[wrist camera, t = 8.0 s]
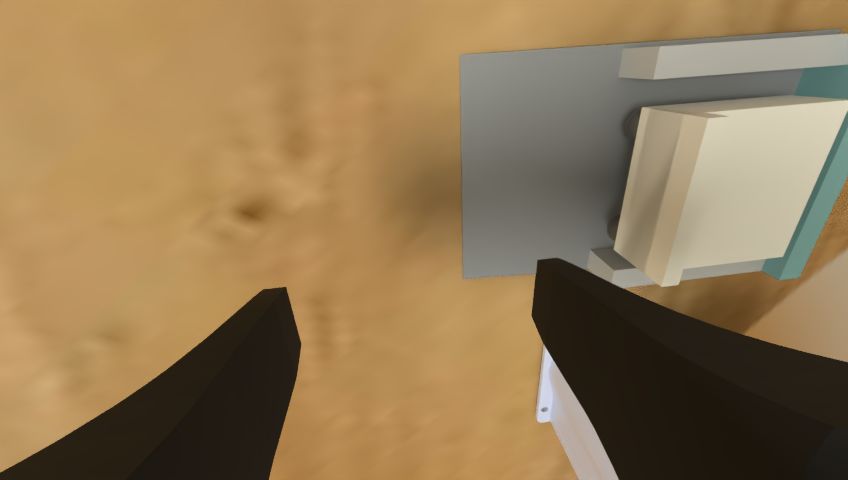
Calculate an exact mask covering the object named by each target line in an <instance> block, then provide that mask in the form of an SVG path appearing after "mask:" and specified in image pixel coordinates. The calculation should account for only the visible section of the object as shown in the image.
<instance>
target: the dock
mask: <svg viewBox="0 0 848 480" xmlns="http://www.w3.org/2000/svg"><path fill="white" fill-rule="evenodd" d="M840 32H841V29H831V30H816V31H802V32H787V33H773V34H758V35H743V36H729V37H714V38H700V39H685V40H670V41H656V42H641V43H626V44H612V45H597V46H583V47H568V48H553V49H539V50H524V51H510V52H495V53H480V54H466V55H460V104H461V171H462V238H463V279H472V278H486V277H499V276H513V275H526V274H536V269H537V260H540V259H549V258H560V259H562V260H565V261H567V262H570V263H572V264H574V265H576V266H578V267H580V268H582V269H584V270H590V271H591V272H592V273H593V274H594V275H596V276H598V277H600V278H603V279H605V280H607V281H609V282H611V283H613V284H615V285H617V286H619V287H621V288H628V287H636V286H644V285H652V284H657V283H655V282H654V281H653V280H652V279H650V278H649V277H648V276H646V275H645V274H644V273H643V272H641V271H640V270H639V269H638V268H636V267H635V266H634V265H632V264H631V263H630V262H629V261H627V260H626V259H625V258H624V257H622V256H621V255H620V254H618V253H617V252H616V251H615V250H614V245H615V242H614V241H613V240H612V239H611V238H610V237H609V236H608V234H607V224H608V222H609V220H610V219H611V218H612V217H614V216H615V215H617V214H621V210H622V205H623V200H624V195H625V190H626V185H627V180H628V175H629V170H630V165H631V160H632V154H633V149H634V144H635V142H633V141H632V140H630V139H629V138H628V137H627V135H626V132H625V124H626V121H627V119H628V118H629V116H630V115H631V114H632V113H633V112H635V111H636V110H638V109H640V108H642V107H650V106H662V105H674V104H686V103H698V102H710V101H722V100H734V99H746V98H758V97H770V96H782V95H797V96H810V97H822V98H835V99H848V33H844V34H840ZM847 177H848V111H847V113H846V115H845V117H844V120H843V122H842V124H841V127H840V129H839V131H838V133H837V136H836V138H835V140H834V142H833V145H832V147H831V149H830V151H829V154H828V156H827V158H826V161H825V163H824V165H823V167H822V170H821V172H820V174H819V176H818V179H817V181H816V183H815V185H814V188H813V190H812V192H811V195H810V197H809V199H808V201H807V204H806V206H805V208H804V210H803V213H802V215H801V217H800V219H799V222H798V224H797V226H796V229H795V231H794V233H793V235H792V238H791V240H790V242H789V244H788V247H787V249H786V251H785V253H784V256H783V257H777V258H769V259H761V260H753V261H745V262H737V263H728V264H720V265H712V266H704V267H696V268H688V269H683V272H682V275H681V278H680V281H683V280H691V279H699V278H707V277H715V276H723V275H731V274H739V273H747V272H755V271H762V272H764V273H766V274H768V275H770V276H772V277H774V278H775V279H777V280H786V279H793V278H799V277H800V275H801V273H802V271H803V269H804V267H805V265H806V262H807V260H808V258H809V256H810V254H811V252H812V250H813V248H814V246H815V244H816V242H817V239H818V237H819V235H820V233H821V231H822V229H823V227H824V225H825V223H826V221H827V219H828V216H829V214H830V212H831V210H832V208H833V206H834V204H835V202H836V200H837V198H838V196H839V194H840V191H841V189H842V187H843V185H844V183H845V181H846V179H847Z"/></svg>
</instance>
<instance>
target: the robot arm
mask: <svg viewBox="0 0 848 480" xmlns="http://www.w3.org/2000/svg"><path fill="white" fill-rule="evenodd" d="M532 318H533V320H534V323H535V325H536V328H537V330H538V332H539V335H540V337H541V339H542V341H543V343H544V345H543V354H542V363H541V371H540V380H539V389H538V398H537V406H536V415H535V416H536V419H537V421H538V422H541V423H543V422H550V421H551V423H552V425H553V428H554V430H555V432H556V434H557V436H558V438H559V440H560V442H561V444H562V446H563V448H564V450H565V452H566V454H567V456H568V458H569V460H570V462H571V465H572V467H573V469H574V471H575V473H576V475H577V477H578V479H579V480H848V362H844V361H839V360H835V359H831V358H827V357H823V356H819V355H814V354H810V353H806V352H802V351H798V350H794V349H791V348H787V347H783V346H779V345H776V344H772V343H769V342H765V341H762V340H759V339H755V338H752V337H749V336H745V335H742V334H739V333H735V332H732V331H729V330H726V329H723V328H720V327H717V326H714V325H711V324H708V323H706V322H703V321H700V320H697V319H695V318H692V317H689V316H686V315H684V314H681V313H678V312H676V311H673V310H671V309H668V308H666V307H664V306H661V305H659V304H657V303H654V302H652V301H650V300H647V299H645V298H643V297H640V296H638V295H636V294H634V293H632V292H630V291H627V290H625V289H623V288H621V287H619V286H617V285H615V284H613V283H611V282H609V281H607V280H605V279H603V278H600V277H598V276H596V275H594V274H592V273H590V272H588V271H586V270H584V269H582V268H580V267H578V266H576V265H574V264H572V263H570V262H567V261H565V260H562V259H560V258H549V259H540V260H537V269H536V278H535V288H534V298H533V307H532ZM300 349H301V341H300V338H299V334H298V330H297V326H296V323H295V319H294V315H293V311H292V308H291V304H290V300H289V296H288V293H287V289H286V287H282V288H273V289H263V290H262V291H261V292H259V293H258V294H257V295H256V296H254V297H253V298H252V299H251V300H250V301H249V302H247V303H246V304H245V305H244V306H243V307H242V308H241V309H239V310H238V311H237V312H236V313H235V314H234V315H233V316H232V317H230V318H229V319H228V320H227V321H226V322H225V323H223V324H222V325H221V326H220V327H219V328H218V329H217V330H215V331H214V332H213V333H212V334H211V335H210V336H208V337H207V338H206V339H205V340H203V341H202V342H201V343H200V344H198V345H197V346H196V347H195V348H193V349H192V350H191V351H190V352H188V353H187V354H186V355H185V356H183V357H182V358H181V359H180V360H178V361H177V362H176V363H175V364H173V365H172V366H171V367H170V368H168V369H167V370H166V371H164V372H163V373H161V374H160V375H159V376H157V377H156V378H155V379H153V380H152V381H150V382H149V383H148V384H146V385H145V386H143V387H142V388H140V389H139V390H137V391H136V392H134V393H133V394H132V395H130V396H129V397H127V398H126V399H124V400H123V401H121V402H120V403H118V404H117V405H115V406H114V407H112V408H110V409H109V410H107V411H105V412H104V413H102V414H100V415H99V416H97V417H96V418H94V419H92V420H91V421H89V422H87V423H86V424H84V425H83V426H81V427H79V428H78V429H76V430H74V431H73V432H71V433H70V434H68V435H66V436H65V437H63V438H61V439H60V440H58V441H56V442H55V443H53V444H51V445H49V446H48V447H46V448H44V449H42V450H41V451H39V452H37V453H35V454H33V455H32V456H30V457H28V458H26V459H25V460H23V461H21V462H19V463H17V464H15V465H14V466H12V467H10V468H8V469H6V470H4V471H2V472H1V473H0V480H269V476H270V472H271V468H272V464H273V459H274V456H275V452H276V449H277V445H278V442H279V438H280V435H281V431H282V428H283V424H284V421H285V417H286V414H287V410H288V407H289V403H290V399H291V396H292V392H293V388H294V385H295V381H296V377H297V371H298V364H299V357H300Z"/></svg>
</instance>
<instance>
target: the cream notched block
mask: <svg viewBox="0 0 848 480" xmlns="http://www.w3.org/2000/svg"><path fill="white" fill-rule="evenodd" d="M847 111H848V99H835V98H822V97H810V96H797V95H782V96H770V97H758V98H746V99H734V100H722V101H710V102H698V103H686V104H674V105H662V106H650V107H642V108H640V109H638V110H636V111H635V112H633V113H632V114H631V115H630V116H629V118H628V119H627V121H626V124H625V132H626V135H627V137H628V138H629V139H630V140H632V141H633V142H635V144H634V149H633V154H632V160H631V165H630V170H629V175H628V180H627V185H626V190H625V195H624V200H623V205H622V210H621V214H617V215H615V216H614V217H612V218H611V219H610V220H609V222H608V224H607V234H608V236H609V237H610V238H611V239H612V240H613V241H614V242H615V245H614V250H615V251H616V252H617V253H618V254H620V255H621V256H622V257H624V258H625V259H626V260H627V261H629V262H630V263H631V264H632V265H634V266H635V267H636V268H638V269H639V270H640V271H641V272H643V273H644V274H645V275H646V276H648V277H649V278H650V279H652V280H653V281H654V282H655V283H657V284H658V285H659V286H660V287H666V286H674V285H679V282H680V278H681V275H682V272H683V269H688V268H696V267H704V266H712V265H720V264H728V263H737V262H745V261H753V260H761V259H769V258H777V257H783V256H784V253H785V251H786V249H787V247H788V244H789V242H790V240H791V238H792V235H793V233H794V231H795V229H796V226H797V224H798V222H799V219H800V217H801V215H802V213H803V210H804V208H805V206H806V204H807V201H808V199H809V197H810V195H811V192H812V190H813V188H814V185H815V183H816V181H817V179H818V176H819V174H820V172H821V170H822V167H823V165H824V163H825V161H826V158H827V156H828V154H829V151H830V149H831V147H832V145H833V142H834V140H835V138H836V136H837V133H838V131H839V129H840V127H841V124H842V122H843V120H844V117H845V115H846V113H847Z"/></svg>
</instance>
